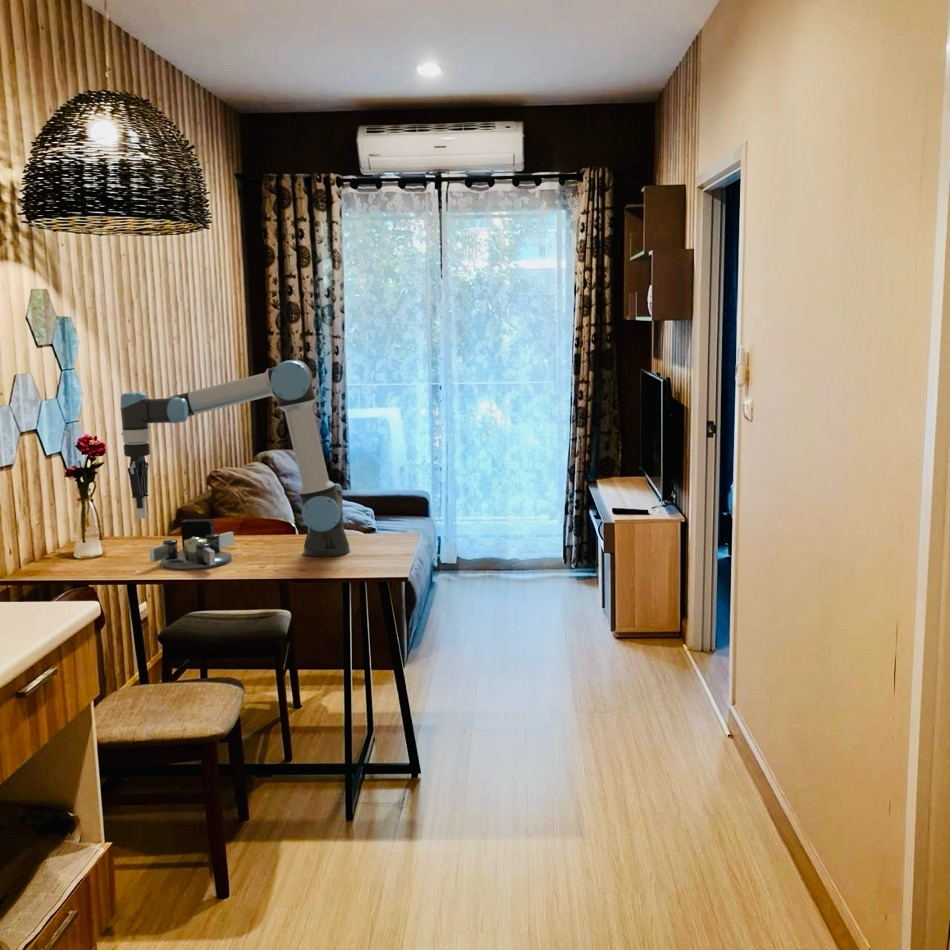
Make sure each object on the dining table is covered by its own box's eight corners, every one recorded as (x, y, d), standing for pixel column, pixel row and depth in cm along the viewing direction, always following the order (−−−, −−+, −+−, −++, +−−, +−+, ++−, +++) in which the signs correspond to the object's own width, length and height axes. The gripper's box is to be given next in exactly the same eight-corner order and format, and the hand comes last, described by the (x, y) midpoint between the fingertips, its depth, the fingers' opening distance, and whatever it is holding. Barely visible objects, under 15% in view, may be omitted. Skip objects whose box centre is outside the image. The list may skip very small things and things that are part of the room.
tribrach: (246, 557, 316) (244, 532, 315) (198, 573, 297) (196, 546, 296) (195, 551, 326) (193, 527, 325) (145, 566, 307) (144, 540, 306)
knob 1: (170, 556, 314) (168, 539, 313) (181, 557, 312) (180, 539, 311) (147, 564, 303) (145, 546, 303) (158, 565, 302) (157, 547, 301)
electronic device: (211, 550, 328) (210, 521, 327) (182, 550, 329) (180, 521, 327) (215, 547, 333) (213, 518, 331) (186, 547, 333) (184, 519, 331)
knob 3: (214, 554, 315) (213, 537, 315) (203, 553, 317) (202, 536, 317) (237, 547, 325) (236, 530, 324) (227, 546, 327) (226, 529, 326)
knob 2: (195, 561, 305) (193, 544, 305) (208, 559, 308) (207, 542, 307) (205, 568, 296) (204, 550, 295) (220, 566, 298) (218, 548, 298)
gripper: (131, 440, 304) (136, 514, 308) (117, 445, 292) (122, 522, 295) (155, 440, 305) (160, 513, 308) (142, 445, 292) (147, 521, 295)
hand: (142, 517), depth 302 cm, fingers closed
